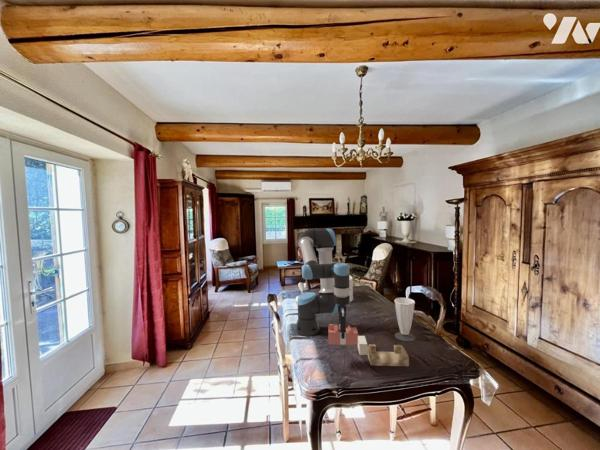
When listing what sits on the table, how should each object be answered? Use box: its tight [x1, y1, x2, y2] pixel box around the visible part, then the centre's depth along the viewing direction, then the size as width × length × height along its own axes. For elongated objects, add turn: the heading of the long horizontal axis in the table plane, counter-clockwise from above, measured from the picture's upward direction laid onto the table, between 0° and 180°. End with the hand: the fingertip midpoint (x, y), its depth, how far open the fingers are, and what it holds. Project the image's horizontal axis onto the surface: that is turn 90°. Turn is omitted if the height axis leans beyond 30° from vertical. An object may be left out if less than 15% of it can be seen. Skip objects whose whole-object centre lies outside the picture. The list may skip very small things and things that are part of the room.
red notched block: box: [328, 323, 359, 346], centre depth 130 cm, size 14×6×8 cm, turn 85°
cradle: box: [366, 343, 410, 367], centre depth 131 cm, size 18×11×5 cm, turn 85°
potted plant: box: [295, 282, 307, 305], centre depth 200 cm, size 13×12×25 cm
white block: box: [357, 335, 368, 356], centre depth 140 cm, size 9×4×6 cm, turn 174°
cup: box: [393, 297, 416, 342], centre depth 154 cm, size 12×12×22 cm
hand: (342, 340), depth 130 cm, fingers closed on red notched block, 6 cm apart
